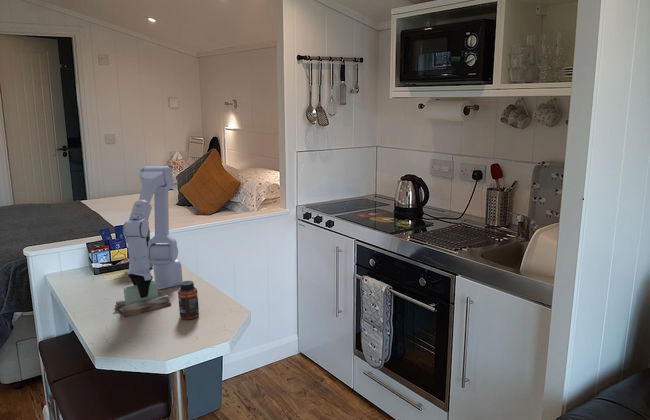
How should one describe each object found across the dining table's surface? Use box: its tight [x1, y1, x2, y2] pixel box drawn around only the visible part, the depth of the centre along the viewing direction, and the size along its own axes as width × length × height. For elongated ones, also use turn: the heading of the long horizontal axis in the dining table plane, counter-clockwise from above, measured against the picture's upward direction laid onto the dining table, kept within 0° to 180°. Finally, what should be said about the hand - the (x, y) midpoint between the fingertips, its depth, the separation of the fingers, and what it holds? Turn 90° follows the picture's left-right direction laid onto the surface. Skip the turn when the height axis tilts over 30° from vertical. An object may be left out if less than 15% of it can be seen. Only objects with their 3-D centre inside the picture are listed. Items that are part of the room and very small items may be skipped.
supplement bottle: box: [177, 280, 200, 321], centre depth 164 cm, size 6×6×11 cm
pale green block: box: [123, 280, 159, 305], centre depth 173 cm, size 10×3×6 cm, turn 129°
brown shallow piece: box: [114, 289, 172, 318], centre depth 174 cm, size 15×10×3 cm, turn 129°
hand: (142, 295), depth 173 cm, fingers closed on pale green block, 3 cm apart
